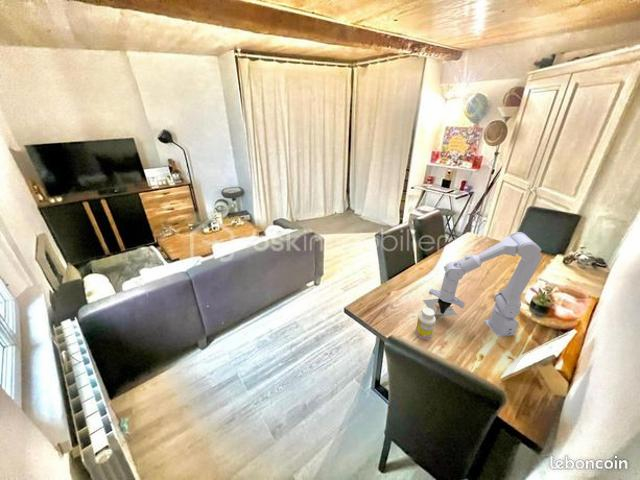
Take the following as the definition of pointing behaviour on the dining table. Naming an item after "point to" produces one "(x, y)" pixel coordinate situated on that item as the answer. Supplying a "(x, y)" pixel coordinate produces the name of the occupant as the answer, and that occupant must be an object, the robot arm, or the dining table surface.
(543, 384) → the dining table surface
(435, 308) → the slab
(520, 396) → the dining table surface
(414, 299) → the dining table surface
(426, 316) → the supplement bottle
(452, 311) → the mat
